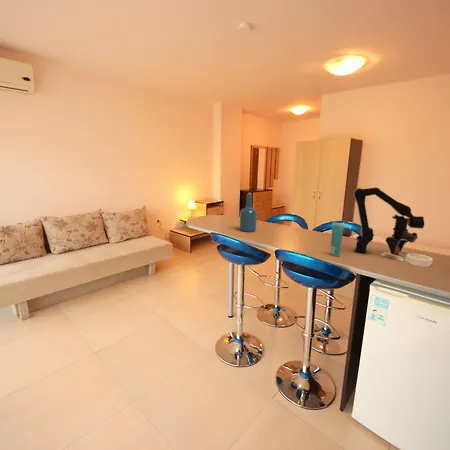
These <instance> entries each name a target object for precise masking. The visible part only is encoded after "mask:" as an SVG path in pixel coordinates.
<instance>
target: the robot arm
mask: <svg viewBox="0 0 450 450" xmlns="http://www.w3.org/2000/svg"><path fill="white" fill-rule="evenodd" d="M352 194H353V198H354V200H355V202H356V205H357V210H358V217H359V221H360V234H359V235H358V236H356V237H355V240H356V244H355V250H353V251H352V252H354V253H357V254H360V255H365V254H369V252H368V251H367V247H368V245H369V243H371V242H372V241H373V239H374V237H375V235H374V229H373V228H372V227H370V226H369V221H368V215H367V208H366V197H369V196H376V197H377V198H379V199H380V200H382V201H383V202H385V203H386V204H388V205H389V206H390V207H391V208H392V209H393V210H394V211H395V212H396V213H397V214H395V215H393V216H392V217H391V218H392V219H394V220H395V221H394V222H395V224H394V227H393V228H392V230H393V234H391V236H388V237H386V238H385V242H386V244H387V245H388V249H389V251H391V254H394V252H395V249H396V246H397V247H400V250H399V253H402V250H403V248H404V246H405V244H406V243H408V242H409V243H415V242H416V240H418V237H419V236H418V233H416V232H409V229H408V228H407V227H409V228H410V229H411V228H412V229H419V230H420V229H424V226H425V220H424V219H425V218H424V216H421V215H420V216H418V215H417V216H416V215H415V216H414V215H413V213H412V209H411V207H410V206H408V205H405V204H404V203H401V202H399V201H397V200H396V199H395V198H393V197H392V196H390V195H389V194H387V193H386V192H384V191H383V190H381V189H380V188H379V187H370V188H369V187H368V188H361V187H358V188H355V189H354V190H353V191H352Z"/></svg>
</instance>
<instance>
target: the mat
mask: <svg viewBox="0 0 450 450" xmlns="http://www.w3.org/2000/svg"><path fill="white" fill-rule="evenodd" d="M380 256H384V257H387V258H390V259H392V258H391V257H388V256H385V255H384V252H383V253H381V254H380ZM393 259H395V258H393ZM395 260H396V259H395ZM397 260H398V261H402V262H403V261H405V259H397Z"/></svg>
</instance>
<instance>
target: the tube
mask: <svg viewBox="0 0 450 450" xmlns="http://www.w3.org/2000/svg"><path fill="white" fill-rule="evenodd" d="M345 227H346V224H345V223H341V222H334V221H332V223H331V237H330V238H331V239H330V252H329V253H330V255H331V256H334V257H339V256H340V253H341V245H342V239H343V234H344V229H345Z"/></svg>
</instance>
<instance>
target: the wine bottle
mask: <svg viewBox="0 0 450 450" xmlns="http://www.w3.org/2000/svg"><path fill="white" fill-rule="evenodd" d="M245 199H246V204H245V207H244V208H242V209H241V210H240V212H239V230H240V232H241V231H242V232H246V233H250V232H251V233H252V232H255V231H256V230H257V222H258V221H257V220H258V212H257V210H256V209H254V208H253V207H252V205H253V203H252V201H253V194H252V192H247V194H246V198H245Z"/></svg>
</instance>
